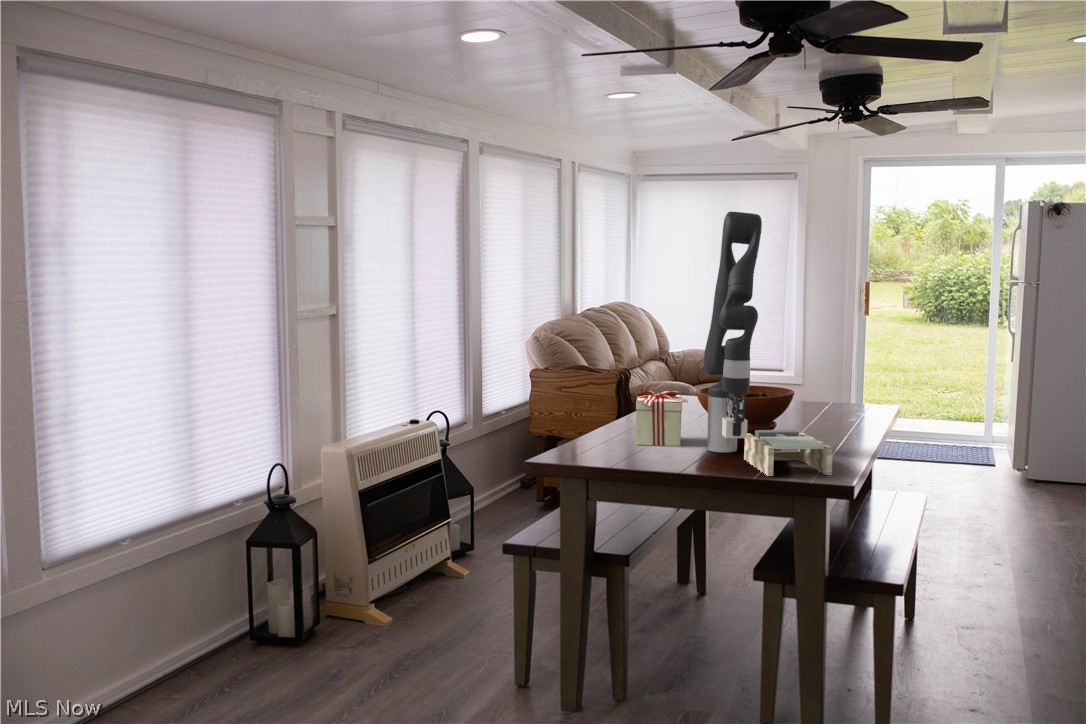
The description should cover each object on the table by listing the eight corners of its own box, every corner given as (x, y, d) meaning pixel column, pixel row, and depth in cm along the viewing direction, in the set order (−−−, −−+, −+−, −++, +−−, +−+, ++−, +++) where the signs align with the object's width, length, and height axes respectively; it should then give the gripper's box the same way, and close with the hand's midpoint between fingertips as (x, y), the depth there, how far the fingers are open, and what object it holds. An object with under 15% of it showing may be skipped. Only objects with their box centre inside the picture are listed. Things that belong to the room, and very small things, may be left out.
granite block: (721, 434, 274) (722, 417, 273) (742, 434, 274) (743, 417, 273) (725, 438, 269) (726, 420, 268) (746, 438, 269) (747, 420, 268)
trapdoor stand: (744, 459, 285) (744, 433, 284) (802, 459, 286) (803, 432, 285) (767, 476, 261) (768, 448, 260) (831, 476, 262) (832, 447, 261)
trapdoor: (751, 443, 284) (751, 430, 284) (797, 443, 285) (797, 429, 284) (774, 458, 262) (774, 443, 261) (823, 457, 263) (824, 443, 262)
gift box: (636, 447, 304) (637, 394, 302) (632, 437, 322) (633, 387, 320) (689, 448, 303) (690, 395, 301) (683, 438, 321) (684, 387, 320)
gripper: (756, 378, 262) (753, 439, 264) (743, 372, 276) (741, 429, 278) (729, 378, 262) (727, 439, 264) (717, 371, 276) (715, 429, 278)
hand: (734, 433), depth 271 cm, fingers closed on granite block, 5 cm apart
